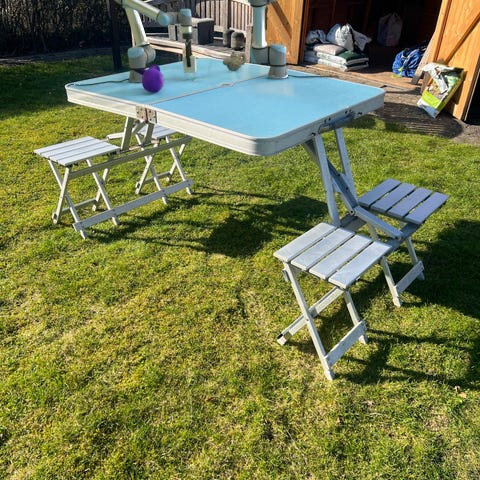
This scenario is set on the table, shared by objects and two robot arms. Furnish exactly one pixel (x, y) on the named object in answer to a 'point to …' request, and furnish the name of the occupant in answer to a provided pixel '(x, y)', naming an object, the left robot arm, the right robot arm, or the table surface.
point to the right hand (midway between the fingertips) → (265, 29)
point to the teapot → (234, 61)
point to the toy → (152, 79)
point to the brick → (193, 65)
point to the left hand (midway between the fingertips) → (189, 65)
